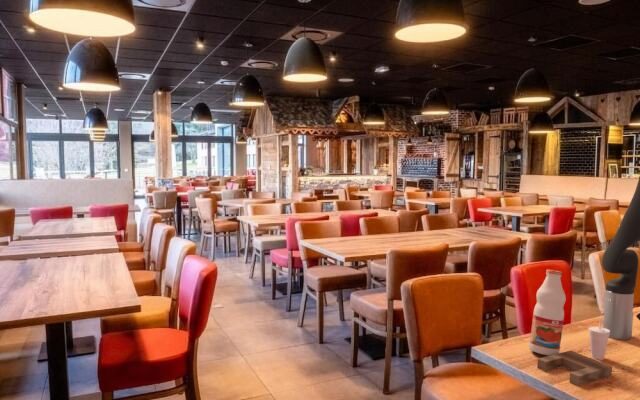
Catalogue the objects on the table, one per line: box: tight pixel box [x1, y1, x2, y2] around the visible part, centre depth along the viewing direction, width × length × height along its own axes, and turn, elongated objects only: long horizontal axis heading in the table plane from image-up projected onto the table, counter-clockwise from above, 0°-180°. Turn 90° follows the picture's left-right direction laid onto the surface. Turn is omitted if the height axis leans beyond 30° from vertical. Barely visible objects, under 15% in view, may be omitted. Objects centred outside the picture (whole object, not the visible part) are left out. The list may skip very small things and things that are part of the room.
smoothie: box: [588, 316, 610, 361], centre depth 164 cm, size 6×6×14 cm
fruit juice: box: [528, 269, 567, 356], centre depth 167 cm, size 9×9×28 cm
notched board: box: [536, 350, 613, 387], centre depth 153 cm, size 16×14×3 cm
